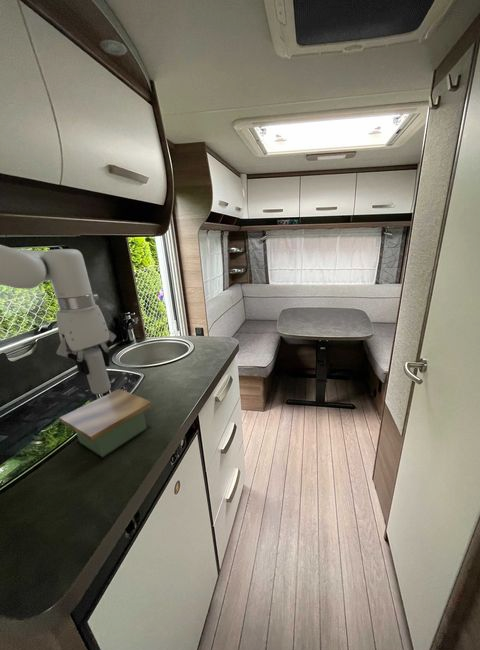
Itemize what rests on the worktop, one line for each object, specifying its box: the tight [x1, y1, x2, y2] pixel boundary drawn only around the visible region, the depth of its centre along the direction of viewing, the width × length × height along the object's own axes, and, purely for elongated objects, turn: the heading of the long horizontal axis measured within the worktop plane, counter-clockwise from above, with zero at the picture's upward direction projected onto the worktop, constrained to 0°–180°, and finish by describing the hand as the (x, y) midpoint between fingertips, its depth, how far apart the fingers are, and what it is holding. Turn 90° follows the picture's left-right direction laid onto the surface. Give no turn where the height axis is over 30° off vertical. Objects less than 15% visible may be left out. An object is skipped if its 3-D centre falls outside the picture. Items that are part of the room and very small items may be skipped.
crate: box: [75, 411, 148, 458], centre depth 82 cm, size 12×14×8 cm
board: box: [58, 388, 153, 441], centre depth 80 cm, size 16×18×2 cm
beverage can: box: [83, 347, 112, 395], centre depth 75 cm, size 5×5×12 cm
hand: (95, 368), depth 75 cm, fingers closed on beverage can, 4 cm apart
